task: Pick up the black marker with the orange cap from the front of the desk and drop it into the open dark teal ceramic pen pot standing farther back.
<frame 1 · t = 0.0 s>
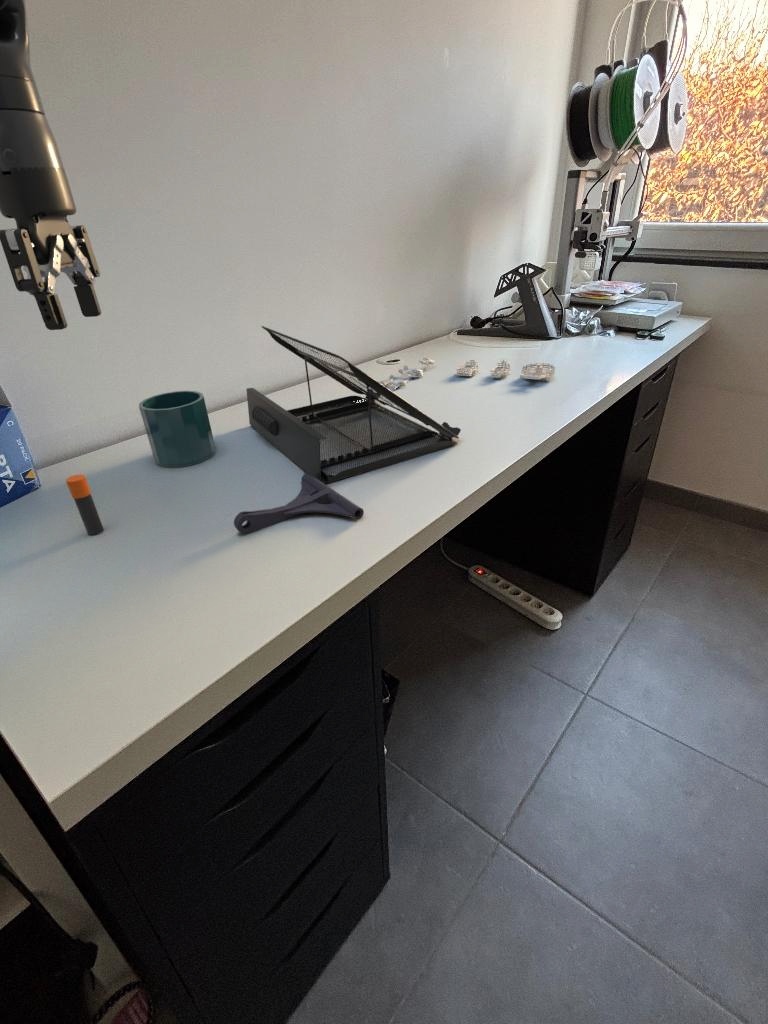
hand: (76, 322, 66), 25 cm above the table, tool pointing down, fingers open, 8 cm apart
laptop stand: (347, 435, 97), on the table
marker: (95, 531, 71), on the table
pen pot: (186, 455, 93), on the table
bracket: (289, 516, 72), on the table
drone parts: (467, 383, 122), on the table
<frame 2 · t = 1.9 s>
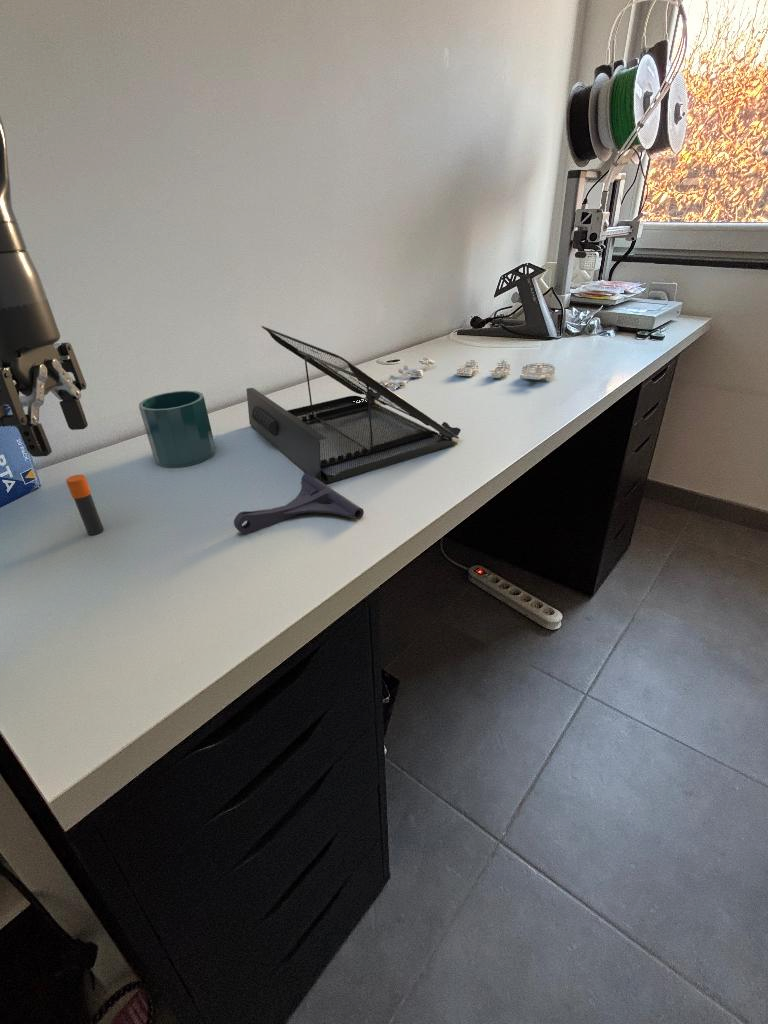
hand: (61, 441, 65), 13 cm above the table, tool pointing down, fingers open, 8 cm apart
nothing on the table moved.
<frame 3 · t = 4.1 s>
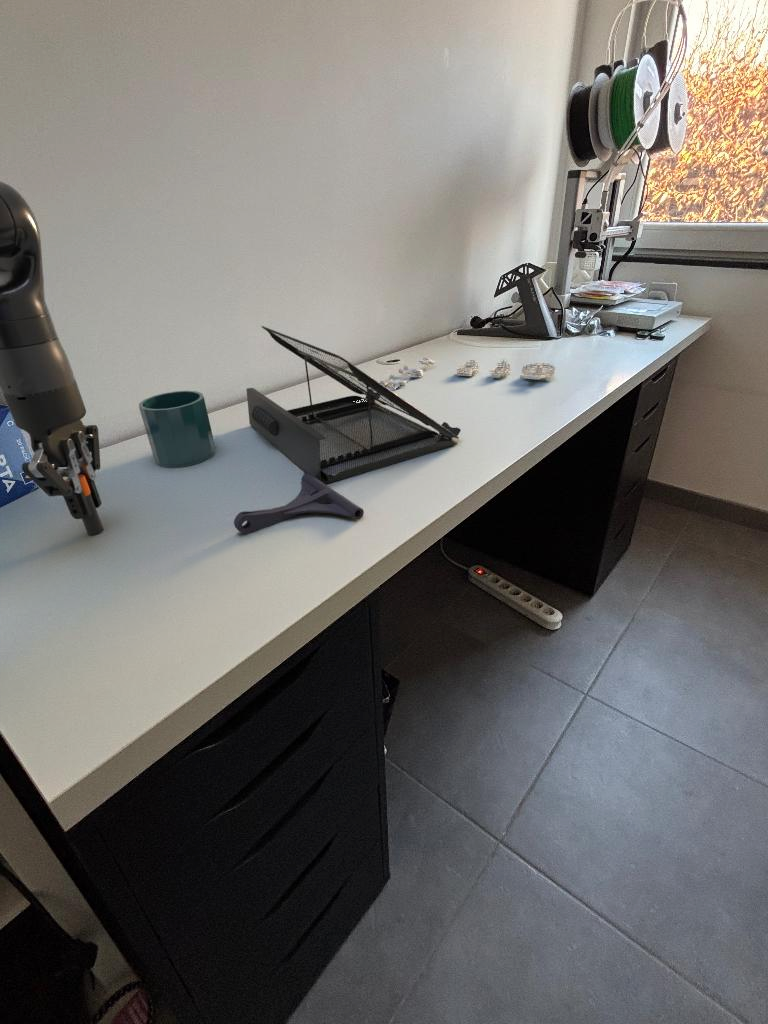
hand: (88, 511, 70), 3 cm above the table, tool pointing down, fingers closed on marker, 2 cm apart
marker: (95, 531, 71), on the table, touching gripper
everything else where it was.
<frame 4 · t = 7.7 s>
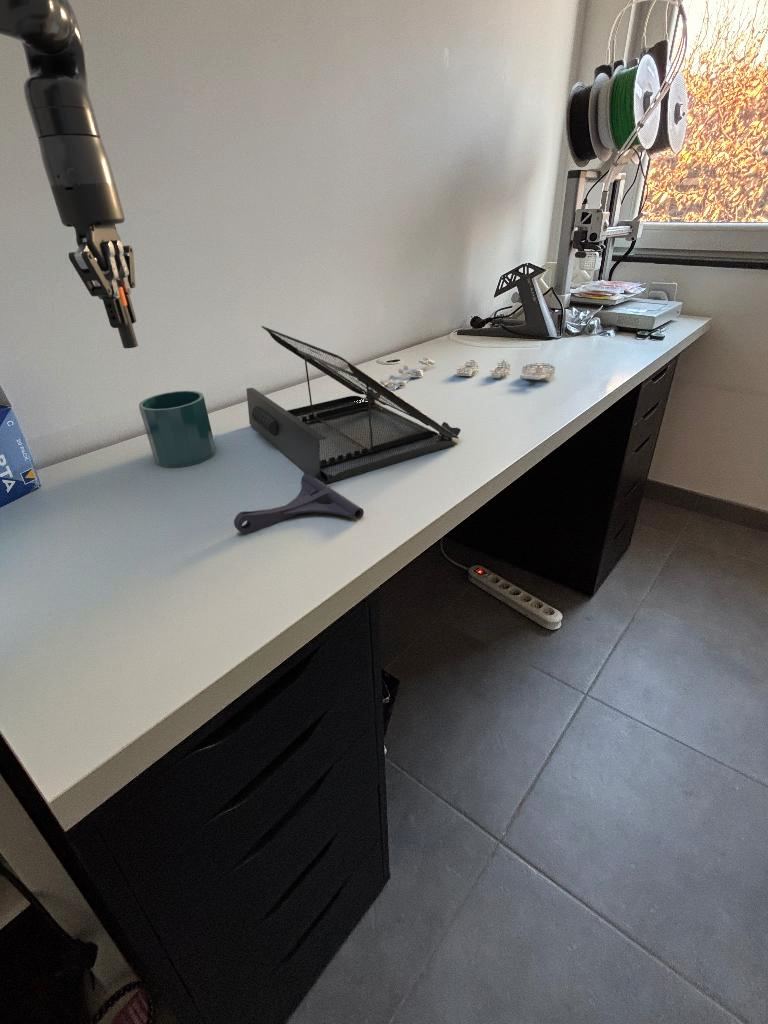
hand: (124, 324, 75), 23 cm above the table, tool pointing down, fingers closed on marker
marker: (130, 346, 77), point 20 cm above the table, touching gripper
everything else where it was.
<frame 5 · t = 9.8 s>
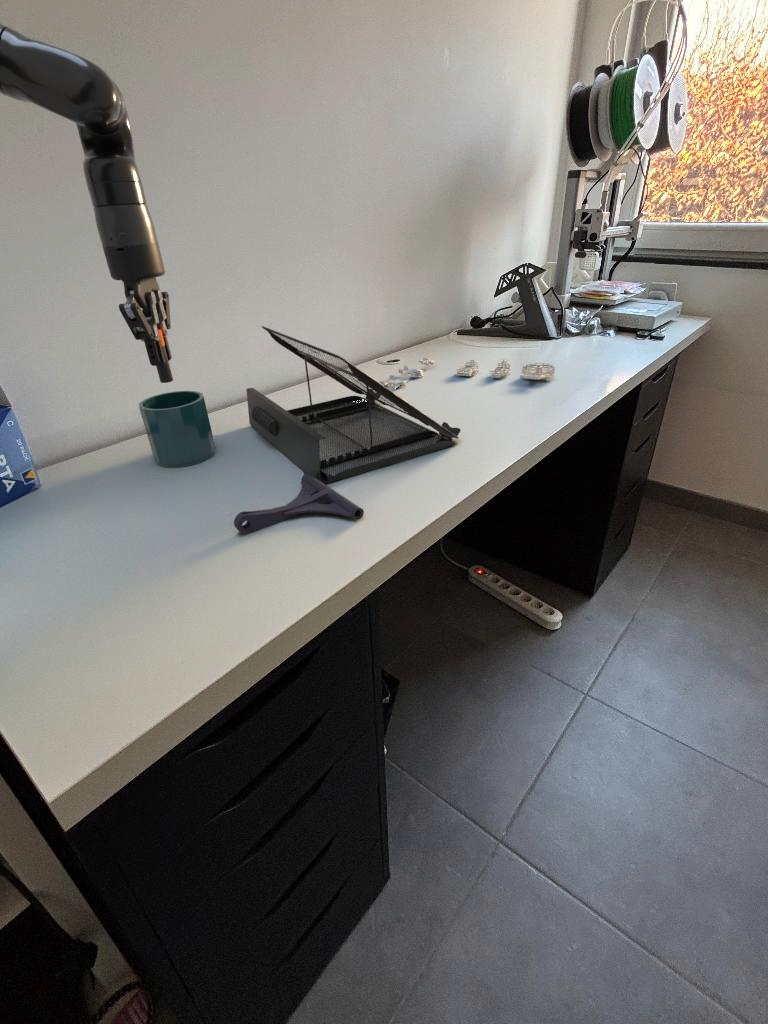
hand: (161, 362, 85), 16 cm above the table, tool pointing down, fingers closed on marker
marker: (166, 381, 86), point 13 cm above the table, touching gripper
everything else where it was.
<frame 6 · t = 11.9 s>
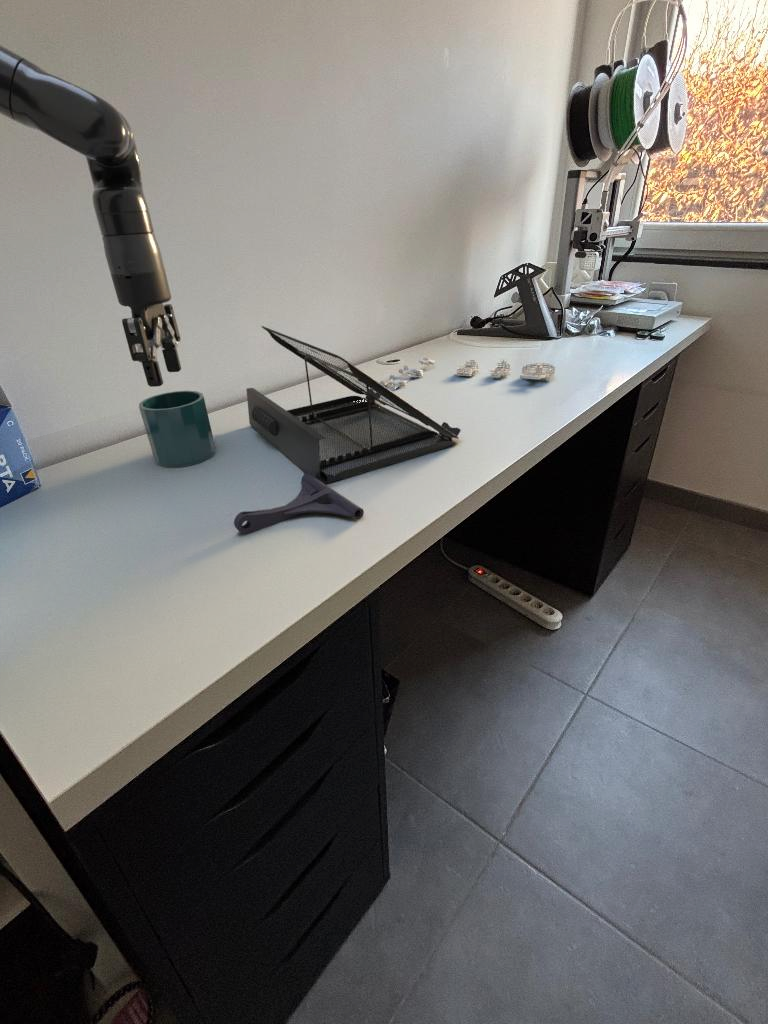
hand: (165, 378, 86), 14 cm above the table, tool pointing down, fingers open, 8 cm apart
marker: (184, 450, 92), point 1 cm above the table, tilted 25°, touching pen pot
everything else where it was.
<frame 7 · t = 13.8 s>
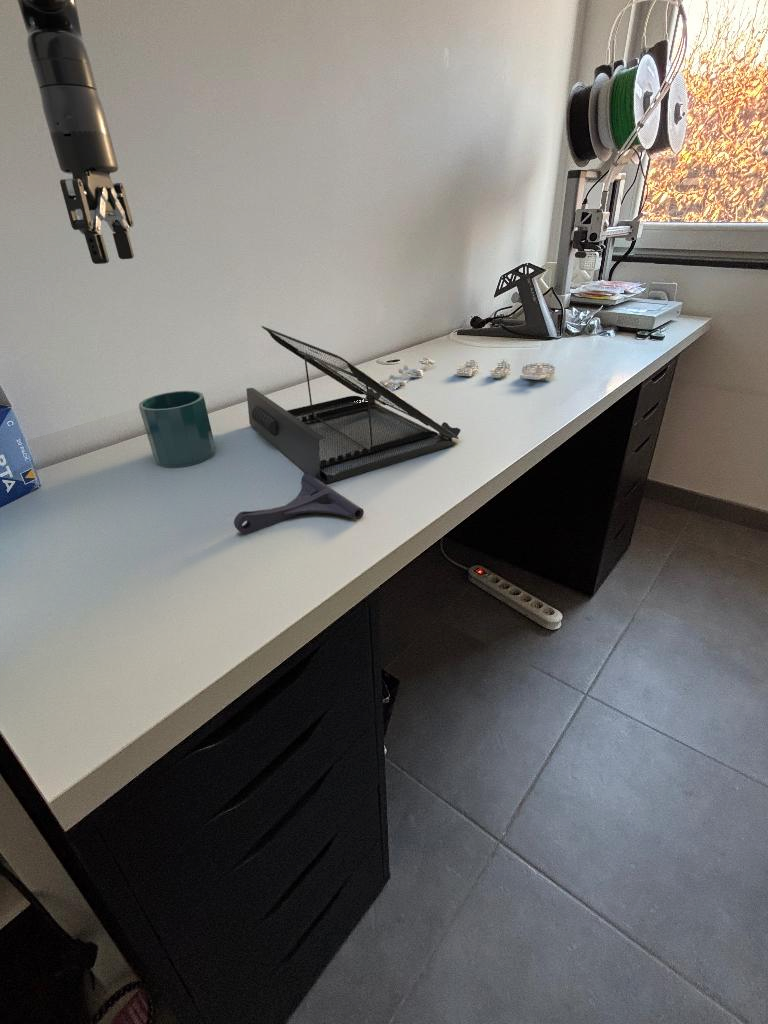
hand: (114, 261, 81), 31 cm above the table, tool pointing down, fingers open, 8 cm apart
nothing on the table moved.
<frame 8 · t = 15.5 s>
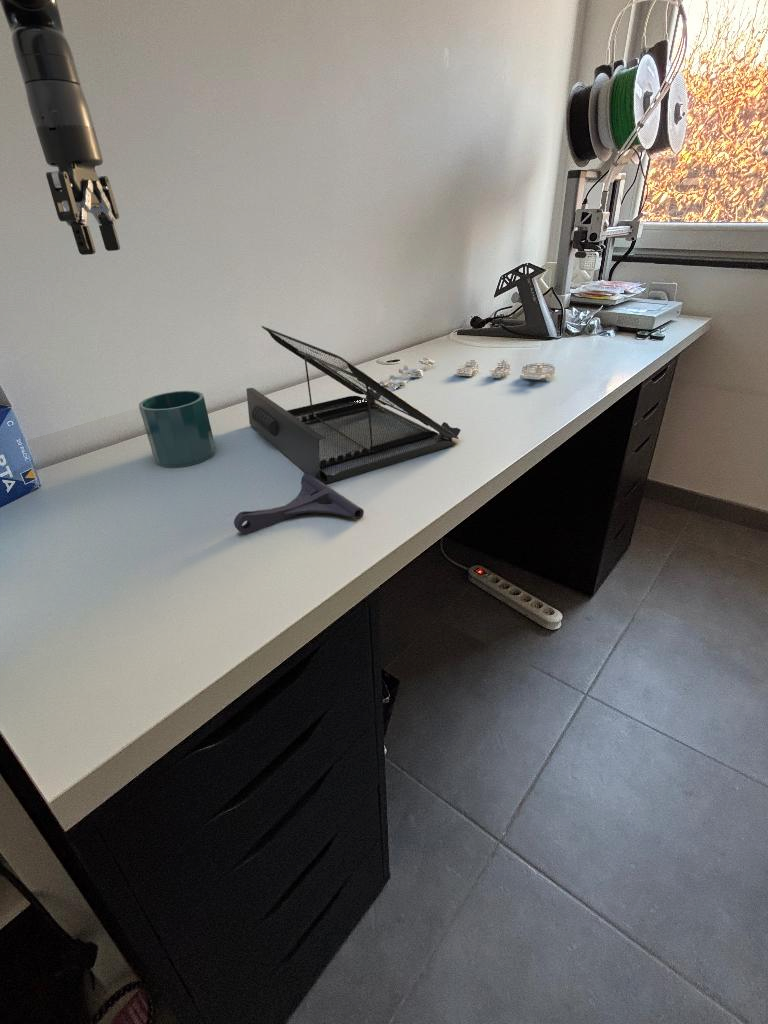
hand: (101, 252, 83), 32 cm above the table, tool pointing down, fingers open, 8 cm apart
nothing on the table moved.
at the end: marker inside the target area in the pen pot (0.1 cm from its centre), point 0.9 cm above the pen pot's base; the gripper is holding nothing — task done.
